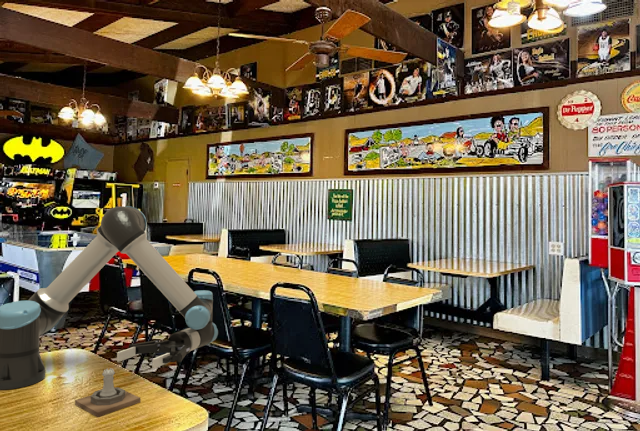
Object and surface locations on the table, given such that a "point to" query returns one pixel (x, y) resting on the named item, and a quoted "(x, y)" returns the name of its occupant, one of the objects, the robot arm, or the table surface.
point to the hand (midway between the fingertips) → (135, 360)
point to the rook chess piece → (108, 384)
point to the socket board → (106, 407)
